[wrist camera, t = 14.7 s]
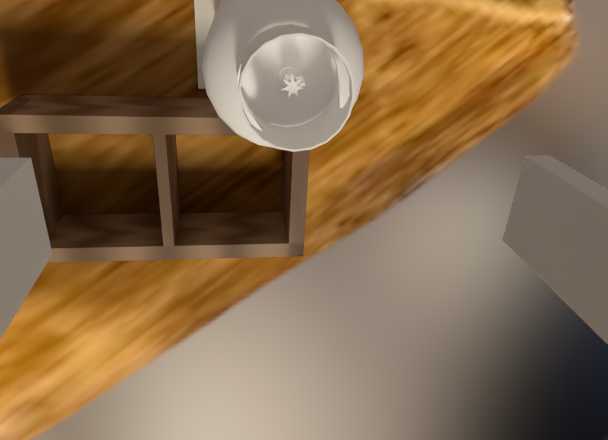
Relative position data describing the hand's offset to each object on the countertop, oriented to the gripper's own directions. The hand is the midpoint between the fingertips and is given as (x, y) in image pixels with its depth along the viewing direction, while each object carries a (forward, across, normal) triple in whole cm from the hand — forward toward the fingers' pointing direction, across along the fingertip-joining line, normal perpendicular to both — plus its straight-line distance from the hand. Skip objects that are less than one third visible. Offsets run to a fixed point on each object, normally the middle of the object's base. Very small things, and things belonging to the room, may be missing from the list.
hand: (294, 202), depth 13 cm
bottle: (+36, +1, +1) cm, 36 cm away
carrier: (+36, -8, -13) cm, 39 cm away
